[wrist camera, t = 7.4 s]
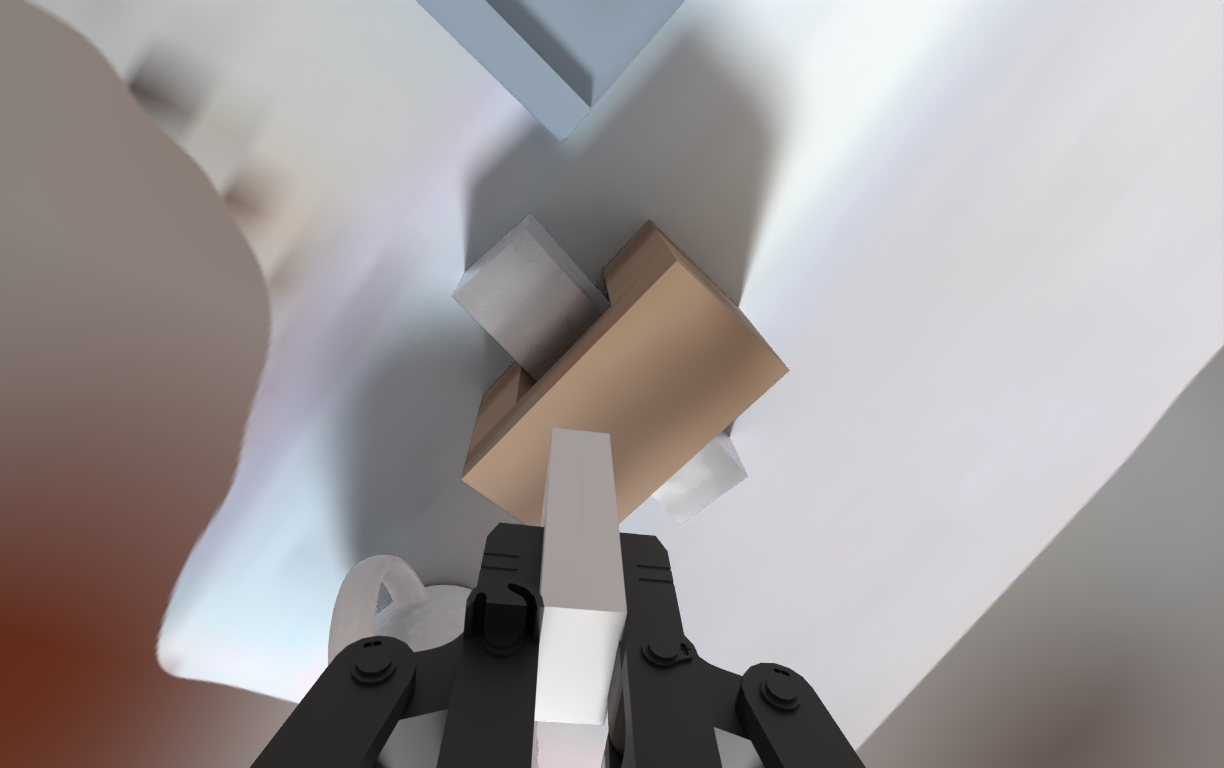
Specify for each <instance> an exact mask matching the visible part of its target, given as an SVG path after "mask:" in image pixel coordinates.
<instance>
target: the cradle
mask: <svg viewBox="0 0 1224 768" xmlns="http://www.w3.org/2000/svg"><path fill="white" fill-rule="evenodd" d="M416 1H417V2H418V3H419V4H420V5H421V6H422V7H423V8H424V9H425V10H426V11H427V12H428V13H429V14H430V15H431V16H432V17H433V18H434V19H435V20H436V21H437V22H438V23H439V24H440V25H441V26H442V27H443V28H444V29H445V30H446V31H448V32H449V33H450V34H451V35H452V36H453V37H454V38H455V39H456V40H457V41H458V42H459V43H460V44H461V45H462V46H463V47H464V48H465V49H466V50H467V51H468V52H469V53H470V54H471V55H472V56H473V57H474V58H475V59H476V60H477V61H478V62H479V63H480V64H481V65H482V66H483V67H484V68H485V69H486V70H487V71H488V72H489V73H490V74H491V75H492V76H493V77H494V78H495V79H496V80H497V81H499V82H500V83H501V84H502V85H503V86H504V87H505V88H506V89H507V90H508V91H509V92H510V93H511V94H512V95H513V96H514V97H515V98H516V99H517V100H518V101H519V102H520V103H521V104H522V105H523V106H524V107H525V108H526V109H527V110H528V111H529V112H530V113H531V114H532V115H533V116H534V117H535V118H536V119H537V120H538V121H539V122H540V123H541V124H542V125H543V126H544V127H545V128H546V129H547V130H549V131H550V132H551V133H552V134H553V135H554V136H555V137H556V138H557V139H558V140H559V141H560V142H562V141H563V140H564V139H565V140H566V138H567V137H568V136H569V135H570V134H571V133H572V131H573V130H574V129H575V128H576V127H577V126H578V125H579V123H580V122H581V121H582V120H583V119H584V118H585V117H586V115H587V114H588V113H589V112H590V111H591V110H592V109H591V108H592V106H593V105H594V104H595V103H596V102H597V101H598V100H599V98H600V97H601V96H602V95H603V94H604V93H605V92H606V90H607V89H608V88H609V87H610V86H611V85H612V83H613V82H614V81H615V80H616V79H617V78H618V77H619V75H620V74H621V73H622V72H623V71H624V70H625V68H626V67H627V66H628V65H629V64H630V63H631V62H632V60H633V59H634V58H635V57H636V56H637V55H638V53H639V52H640V51H641V50H642V49H643V48H644V47H645V45H646V44H647V43H648V42H649V41H650V40H651V38H652V37H653V36H654V35H655V34H656V33H657V32H658V30H659V29H660V28H661V27H662V26H663V25H664V23H665V22H666V21H667V20H668V19H669V18H670V17H671V15H672V14H673V13H674V12H675V11H676V10H677V9H678V7H679V6H680V5H681V4H682V3H683V2H684V0H416Z"/></svg>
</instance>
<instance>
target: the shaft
mask: <svg viewBox="0 0 1224 768" xmlns="http://www.w3.org/2000/svg"><path fill="white" fill-rule="evenodd" d="M452 297H453V298H454V299H455V300H456V301H457V302H458V303H459V304H460V305H461V306H462V307H463V308H464V309H465V310H466V311H467V312H468V313H469V314H470V315H471V316H472V317H473V318H474V319H475V320H476V321H477V322H478V323H479V324H480V325H481V326H482V327H483V328H484V329H485V330H486V331H487V332H488V333H489V334H490V335H491V336H492V337H493V338H494V339H495V340H496V341H497V342H498V343H499V344H500V345H501V346H502V347H503V348H504V349H505V350H506V351H507V352H508V353H509V354H510V355H511V356H512V357H513V358H514V359H515V360H516V361H517V362H518V363H519V364H520V365H521V366H522V367H523V368H524V369H525V370H526V371H527V372H528V373H529V374H530V375H531V376H532V377H533V378H534V379H535V380H536V381H537V382H538V381H539V380H540V379H541V377H542V376H543V375H544V374H545V373H546V372H547V371H548V370H549V369H550V368H551V367H552V366H553V365H554V364H555V363H556V362H557V361H558V360H559V359H560V358H561V357H562V356H563V355H564V354H565V353H566V352H567V351H568V350H569V349H570V348H571V347H572V346H573V345H574V344H575V343H576V342H577V341H578V339H579V338H580V337H581V336H582V335H583V334H584V333H585V332H586V331H587V330H588V329H589V328H590V327H591V326H592V325H593V324H594V323H595V322H596V321H597V320H598V319H599V318H600V317H601V316H602V315H603V314H604V313H605V312H606V311H607V310H608V309H609V308H610V307H611V303H610V302H609V301H608V300H607V298H606V297H605V296H604V295H603V294H602V293H601V292H600V291H599V289H598V288H597V287H596V286H595V285H594V284H593V283H592V282H591V280H590V279H589V278H588V277H587V276H586V275H585V274H584V272H583V271H582V270H581V269H580V268H579V267H578V266H577V265H576V263H575V262H574V261H573V260H572V259H571V258H570V257H569V256H568V254H567V253H566V252H565V251H564V250H563V249H562V248H561V247H560V245H559V244H558V243H557V242H556V241H555V240H554V239H553V238H552V236H551V235H550V234H549V233H548V232H547V231H546V230H545V228H544V227H543V226H542V225H541V224H540V223H539V222H538V221H537V219H536V218H535V217H534V216H533V215H532V214H531V213H530V214H528V215H527V216H526V217H525V218H524V219H523V220H522V221H521V222H520V223H519V224H517V225H516V226H515V227H514V228H513V229H512V230H511V231H510V232H509V233H507V234H506V235H505V236H504V237H503V238H502V239H501V240H500V241H499V242H497V243H496V244H495V245H494V246H493V247H492V248H491V249H490V250H489V251H487V252H486V253H485V254H484V255H483V256H482V257H481V258H480V259H479V260H477V261H476V262H475V263H474V264H473V265H472V266H471V267H470V268H469V269H467V270H466V271H465V272H464V274H463V276H462V278H461V280H460V282H459V283H458V285H457V287H456V289H455V291H454V293H453V295H452ZM747 477H748V475H747V473H746V471H745V469H744V467H743V465H742V462H741V460H740V458H739V456H738V454H737V452H736V450H735V448H734V445H733V443H732V441H731V439H730V437H729V436H728V435H727V434H726V433H725V432H724V430H723V431H722V432H721V433H720V434H718V435H717V436H716V437H715V438H714V439H713V440H712V441H711V442H710V443H708V444H707V445H706V446H705V447H704V448H703V449H702V450H701V451H700V452H698V453H697V454H696V455H695V456H694V457H693V458H692V459H691V460H690V461H688V462H687V463H686V464H685V465H684V466H683V467H682V468H681V469H680V470H678V471H677V472H676V473H675V474H674V475H673V476H672V477H671V478H670V479H668V480H667V481H666V482H665V483H664V484H663V485H662V486H661V487H660V488H658V489H657V490H656V491H655V492H654V493H653V494H652V495H651V496H652V497H653V498H654V499H655V500H656V501H657V502H658V503H659V504H660V505H661V506H662V507H663V508H664V509H665V510H666V511H667V512H668V513H669V514H670V515H671V516H672V517H673V518H674V519H675V520H676V521H677V522H678V523H679V524H682V523H683V522H684V521H686V520H687V519H689V518H690V517H691V516H693V515H694V514H696V513H697V512H698V511H700V510H701V509H703V508H704V507H706V506H707V505H708V504H710V503H711V502H713V501H714V500H715V499H717V498H718V497H720V496H721V495H722V494H724V493H725V492H727V491H728V490H730V489H731V488H732V487H734V486H735V485H737V484H738V483H739V482H741V481H742V480H744V479H745V478H747Z"/></svg>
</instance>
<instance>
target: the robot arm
mask: <svg viewBox="0 0 1224 768" xmlns="http://www.w3.org/2000/svg"><path fill="white" fill-rule="evenodd" d="M670 569H671V567H670V562H669V557H668V552H667V550H666V549H665V548H664V546H663V545H662V544H661V542H660V541H659V540H658V538H657V537H656V536H651V535H640V534H630V533H619V525H618V515H617V504H616V494H615V484H614V473H613V463H612V453H611V443H610V434H608V433H599V432H590V431H581V430H572V429H563V428H554V427H553V432H552V440H551V448H550V455H549V463H548V471H547V479H546V486H545V494H544V502H543V510H542V519H541V527H539V526H529V525H518V524H508V523H499V524H498V525H497V526H496V527H495V528H494V529H493V531H492V532H491V533H490V534H489V535H488V536H487V540H486V545H485V550H484V556H483V559H482V564H481V569H480V574H479V579H478V584H477V587H476V588H475V589H473V590H472V591H471V593H470V595H469V596H468V598H467V600H466V609H465V621H464V631H463V632H462V634H461V635H459V636H458V637H457V638H456V639H454V640H453V641H451V642H449V643H447V644H445V645H443V646H440V647H436V648H433V649H428V650H423V651H418V652H413V650H412V649H411V648H410V647H409V646H408V644H407V643H405V642H403V641H401V640H399V639H397V638H395V637H388V636H379V635H378V636H373V637H367V638H362V639H360V640H358V641H356V642H354V643H351V644H349V645H347V646H346V647H345V648H344V649H343V650H342V651H341V652H340V653H339V654H338V655H336V656H335V658H334V659H333V660H332V662H331V663H330V664H329V666H328V667H327V668H326V669H325V671H324V672H323V673H322V675H321V676H320V677H319V679H318V680H317V681H316V682H315V684H314V685H313V686H312V688H311V689H310V690H309V692H308V693H307V694H306V695H305V697H304V698H303V699H302V701H301V702H300V703H299V705H298V706H297V707H296V708H295V710H294V711H293V712H292V714H291V715H290V716H289V718H288V719H287V720H286V722H285V723H284V724H283V726H282V727H281V728H280V729H279V731H278V732H277V733H276V734H275V736H274V737H273V738H272V740H271V741H270V742H269V744H268V745H267V746H266V747H265V749H264V750H263V751H262V753H261V754H260V755H259V756H258V758H257V759H256V760H255V762H254V763H253V764H252V766H251V767H250V768H531V764H532V749H533V734H534V721H547V722H563V723H579V724H595V725H604V724H605V719H606V714H607V709H608V726H609V732H608V736H607V741H606V746H605V751H604V755H603V760H602V765H601V768H866V767H865V766H864V764H863V763H862V762H861V760H860V758H859V757H858V756H857V754H856V752H855V751H854V749H853V748H852V746H851V745H850V743H849V742H848V740H847V739H846V737H845V736H844V734H843V733H842V731H841V730H840V728H839V727H838V725H837V724H836V722H835V721H834V719H833V718H832V716H831V715H830V713H829V712H828V710H827V709H826V707H825V706H824V704H823V703H822V701H821V700H820V698H819V697H818V695H817V694H816V692H815V691H814V689H813V688H812V687H811V686H810V685H809V683H808V682H807V681H806V680H805V679H804V678H803V677H802V676H800V675H799V674H797V673H796V672H794V671H793V670H791V669H790V668H787V667H784V666H781V665H778V664H775V663H760V664H757V665H754V666H751V667H750V668H749V669H748V670H747V671H746V672H745V674H744V675H743V676H740V675H737V674H735V673H732V672H729V671H726V670H723V669H720V668H718V667H716V666H714V665H711V664H709V663H708V662H706V661H705V660H703V659H702V658H700V657H699V656H698V654H697V651H696V649H695V647H694V645H693V644H692V643H691V642H690V641H689V640H688V639H687V638H686V637H685V635H684V632H683V627H682V622H681V617H680V612H679V607H678V602H677V597H676V592H675V587H674V585H673V577H672V572H671V571H670Z"/></svg>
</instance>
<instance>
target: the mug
mask: <svg viewBox="0 0 1224 768" xmlns="http://www.w3.org/2000/svg"><path fill="white" fill-rule="evenodd" d="M382 583H383V584H384V585H385V587H386V588H387V590H388V592H389V593H390V596H391V598H392V600H393V602H392V603H391V604H390V605H388V606H387V607H386V608H384V609H383V610H382V611H381V612H379V613H378V614H376V615H375V612H376V606H377V601H378V596H379V591H380V587H381V584H382ZM471 591H472V590H471V589H469V588H465V587H461V586H455V585H434V586H428V587H424V585H423V584H422V582H421V581H420V579H419V578H418V576H417V574H416V573H415V571H414V570H413V569H412V568H411V567H410V566H409V565H408V564H407V563H406V562H405V561H404V560H403V559H401V558H399V557H397V556H393V555H376V556H372V557H368V558H366V559H363V560H362V561H360V562H358V563H357V564H356V565H355V566H354V567H353V568H352V569H351V570H350V571H349V573H348V574H347V576H346V577H345V579H344V581H343V583H342V585H341V587H340V590H339V593H338V596H337V599H336V602H335V606H334V610H333V615H332V621H331V626H330V634H329V645H328V666H329V664H330V663H331V662H332V660H333V659H334V658H335V656H336V655H338V654H339V653H340V652H341V651H342V650H343V649H344V648H345V647H346V646H347V645H349V644H351V643H354V642H356V641H358V640H360V639H362V638H367V637H373V636H378V635H379V636H388V637H395V638H397V639H399V640H401V641H403V642H405V643H407V644H408V646H409V647H410V648H411V649H412V650H413V652H418V651H423V650H428V649H433V648H436V647H440V646H443V645H445V644H447V643H449V642H451V641H453V640H454V639H456V638H457V637H458V636H459V635H461V634H462V632H463V631H464V621H465V609H466V600H467V598H468V596H469V595H470V593H471ZM537 756H538V740H537V721H534V734H533V749H532V764H531V768H538V762H537Z"/></svg>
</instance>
